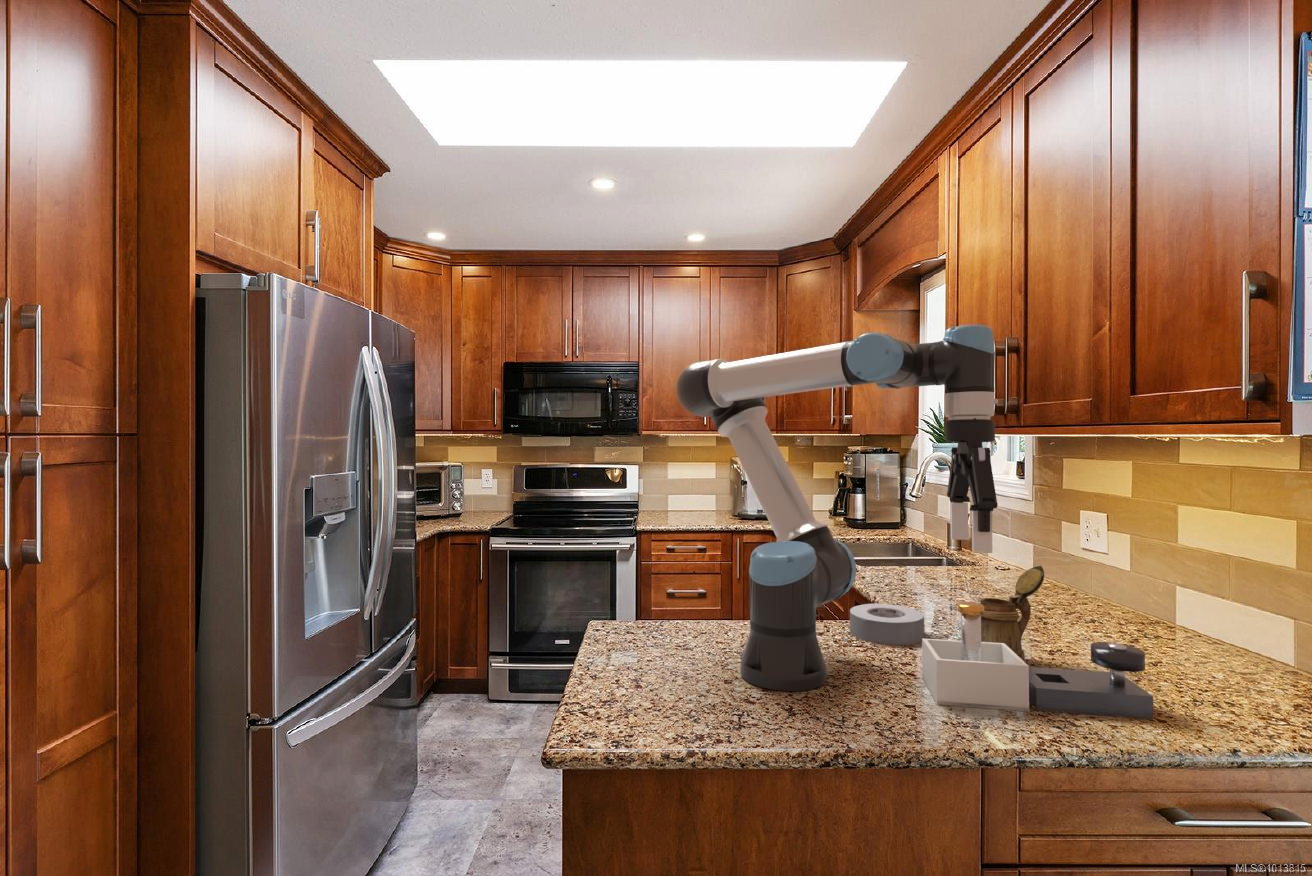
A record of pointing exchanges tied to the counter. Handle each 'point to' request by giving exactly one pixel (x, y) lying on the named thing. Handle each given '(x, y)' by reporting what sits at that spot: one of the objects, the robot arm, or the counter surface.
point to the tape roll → (887, 624)
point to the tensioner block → (1094, 685)
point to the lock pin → (970, 630)
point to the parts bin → (975, 676)
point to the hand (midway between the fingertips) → (970, 545)
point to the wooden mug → (1010, 613)
